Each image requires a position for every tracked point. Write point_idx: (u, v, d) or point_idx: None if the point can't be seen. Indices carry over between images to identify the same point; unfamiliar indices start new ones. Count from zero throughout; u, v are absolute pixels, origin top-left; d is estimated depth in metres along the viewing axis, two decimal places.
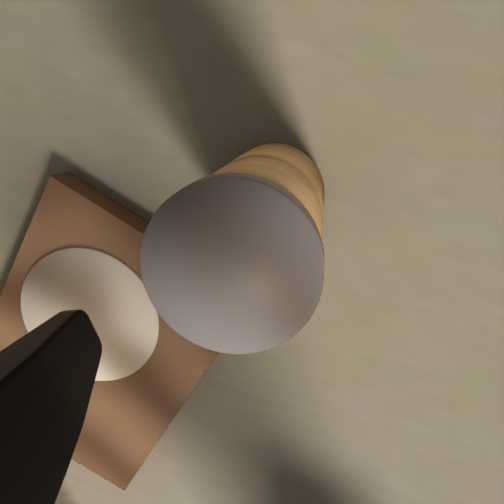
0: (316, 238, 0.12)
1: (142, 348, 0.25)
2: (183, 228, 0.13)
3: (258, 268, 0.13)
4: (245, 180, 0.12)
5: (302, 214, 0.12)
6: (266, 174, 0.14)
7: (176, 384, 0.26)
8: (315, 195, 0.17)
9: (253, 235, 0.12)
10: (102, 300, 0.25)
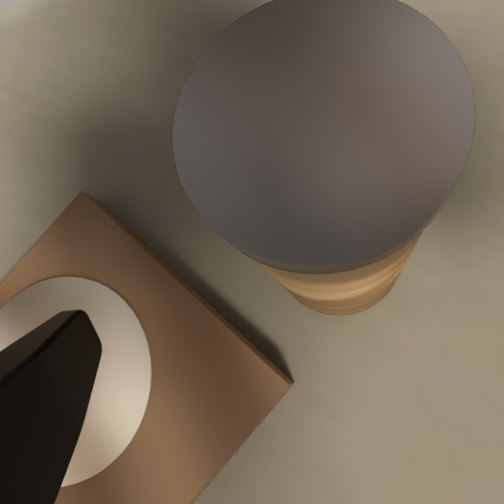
0: (464, 68, 0.08)
1: (113, 437, 0.17)
2: (255, 53, 0.08)
3: (362, 112, 0.08)
4: None
5: (442, 36, 0.08)
6: None
7: None
8: None
9: (361, 62, 0.08)
10: None
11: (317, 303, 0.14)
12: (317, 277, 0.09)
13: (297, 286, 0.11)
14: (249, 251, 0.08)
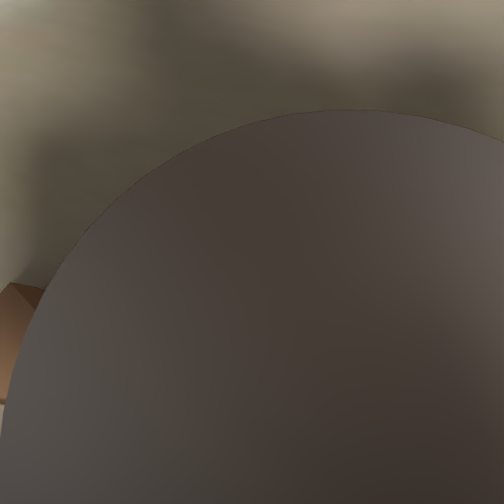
0: None
1: None
2: (188, 260, 0.04)
3: (447, 459, 0.03)
4: (432, 122, 0.04)
5: None
6: None
7: None
8: None
9: (441, 314, 0.03)
10: None
11: None
12: None
13: None
14: None
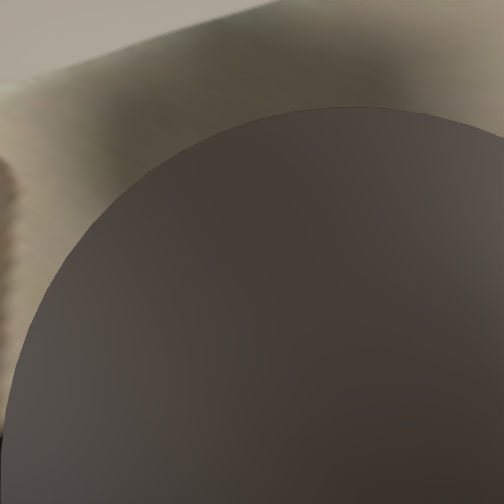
0: None
1: None
2: (191, 256, 0.04)
3: (451, 455, 0.03)
4: (435, 119, 0.04)
5: None
6: None
7: None
8: None
9: (444, 311, 0.03)
10: None
11: None
12: None
13: None
14: None
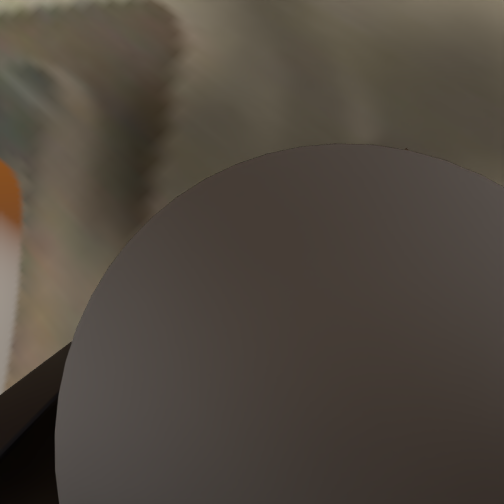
0: None
1: None
2: (214, 268, 0.04)
3: (428, 430, 0.04)
4: (417, 155, 0.04)
5: None
6: None
7: None
8: None
9: (423, 314, 0.04)
10: None
11: None
12: None
13: None
14: None
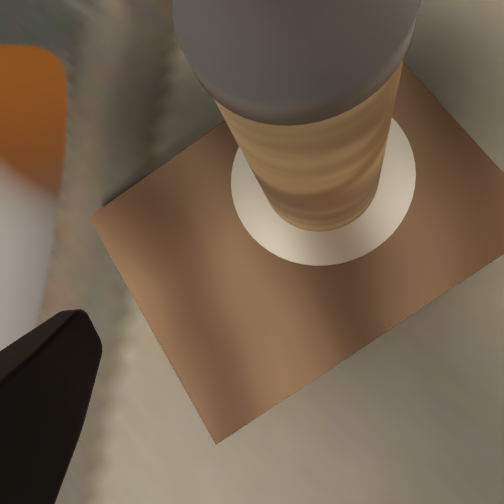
0: None
1: (369, 234, 0.19)
2: None
3: None
4: None
5: None
6: None
7: (387, 302, 0.19)
8: None
9: None
10: None
11: (299, 205, 0.16)
12: (295, 140, 0.11)
13: (280, 168, 0.13)
14: (236, 95, 0.09)
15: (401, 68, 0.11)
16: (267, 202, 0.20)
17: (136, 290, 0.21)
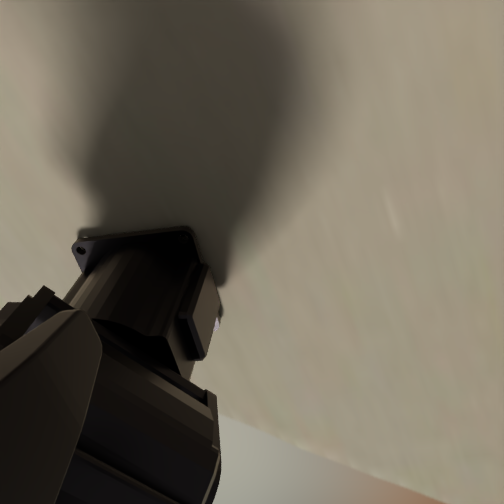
0: None
1: None
2: None
3: None
4: None
5: None
6: None
7: None
8: None
9: None
10: None
11: None
12: None
13: None
14: None
15: None
16: None
17: None
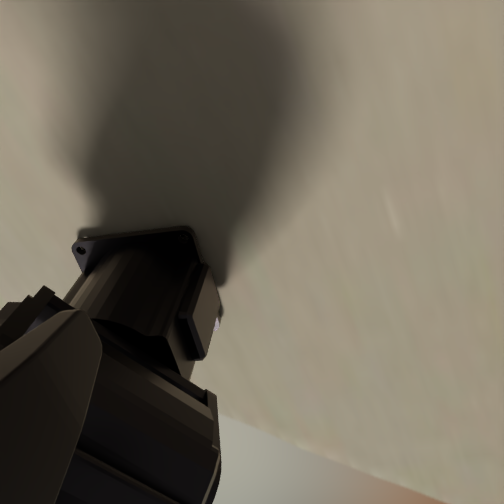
0: None
1: None
2: None
3: None
4: None
5: None
6: None
7: None
8: None
9: None
10: None
11: None
12: None
13: None
14: None
15: None
16: None
17: None
